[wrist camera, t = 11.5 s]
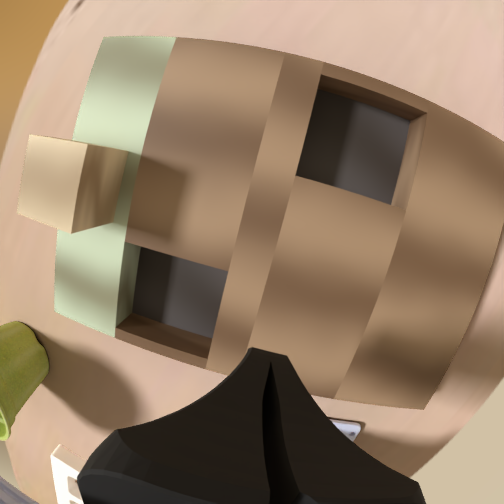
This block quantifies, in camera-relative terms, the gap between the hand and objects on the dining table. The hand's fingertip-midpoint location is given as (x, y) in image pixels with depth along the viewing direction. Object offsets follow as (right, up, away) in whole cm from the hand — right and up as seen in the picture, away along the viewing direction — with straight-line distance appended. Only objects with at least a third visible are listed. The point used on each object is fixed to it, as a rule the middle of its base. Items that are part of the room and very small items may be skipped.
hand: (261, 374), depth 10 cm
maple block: (-9, +8, +6) cm, 14 cm away
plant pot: (-22, -5, +13) cm, 26 cm away
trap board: (+1, +6, +8) cm, 10 cm away
